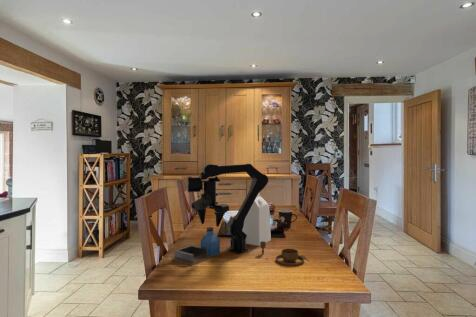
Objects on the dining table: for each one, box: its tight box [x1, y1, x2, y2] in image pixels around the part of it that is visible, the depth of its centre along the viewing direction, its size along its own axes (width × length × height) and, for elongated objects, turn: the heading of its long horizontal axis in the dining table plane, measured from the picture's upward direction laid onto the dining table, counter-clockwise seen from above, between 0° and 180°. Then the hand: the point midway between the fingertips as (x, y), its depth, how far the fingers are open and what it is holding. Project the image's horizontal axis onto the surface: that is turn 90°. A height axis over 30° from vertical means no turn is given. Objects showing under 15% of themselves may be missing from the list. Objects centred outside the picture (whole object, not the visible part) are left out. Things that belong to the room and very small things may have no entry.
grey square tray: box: [171, 244, 212, 267], centre depth 135 cm, size 12×12×4 cm
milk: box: [242, 191, 272, 247], centre depth 161 cm, size 12×12×26 cm
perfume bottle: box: [200, 226, 221, 258], centre depth 141 cm, size 6×6×12 cm
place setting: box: [259, 242, 310, 267], centre depth 135 cm, size 18×20×6 cm
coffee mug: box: [278, 209, 298, 229], centre depth 192 cm, size 12×9×10 cm
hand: (210, 225), depth 142 cm, fingers open, 9 cm apart
